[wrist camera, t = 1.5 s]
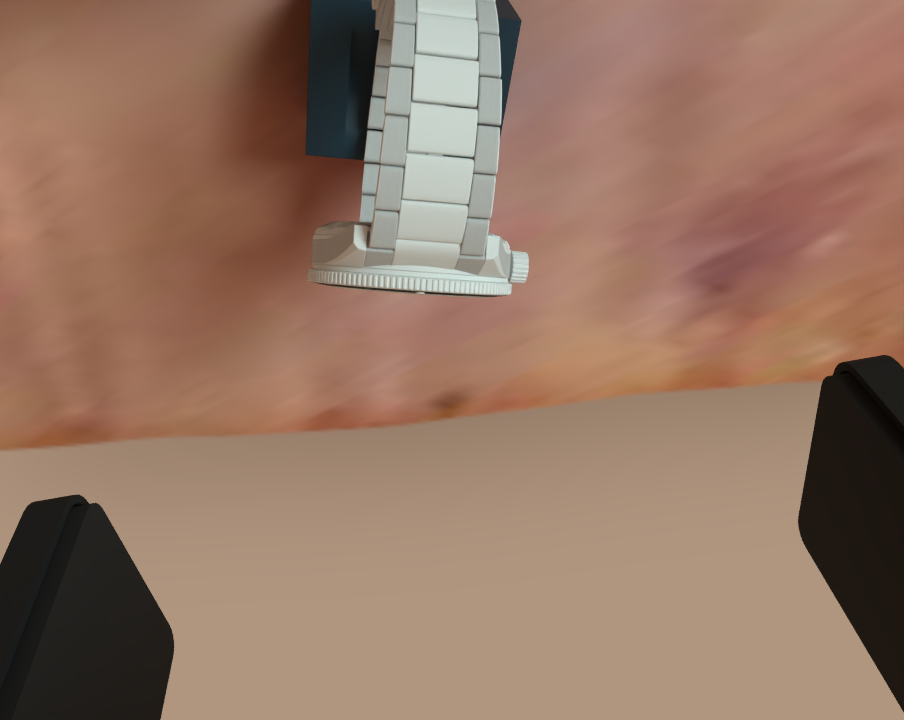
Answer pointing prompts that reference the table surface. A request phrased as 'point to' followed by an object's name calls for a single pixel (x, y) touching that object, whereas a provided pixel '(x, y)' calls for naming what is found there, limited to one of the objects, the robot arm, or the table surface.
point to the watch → (414, 142)
